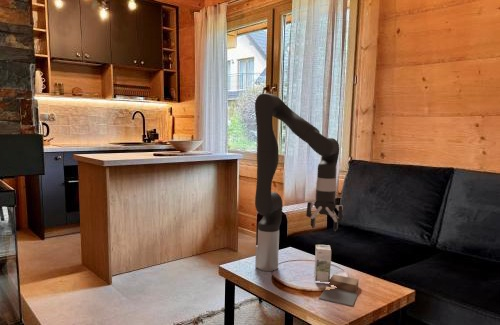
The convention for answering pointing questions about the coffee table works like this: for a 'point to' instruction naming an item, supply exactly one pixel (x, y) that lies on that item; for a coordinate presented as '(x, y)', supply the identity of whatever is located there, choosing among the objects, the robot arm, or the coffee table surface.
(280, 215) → the robot arm
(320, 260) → the syrup box
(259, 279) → the coffee table surface
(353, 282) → the step block
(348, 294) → the mat
